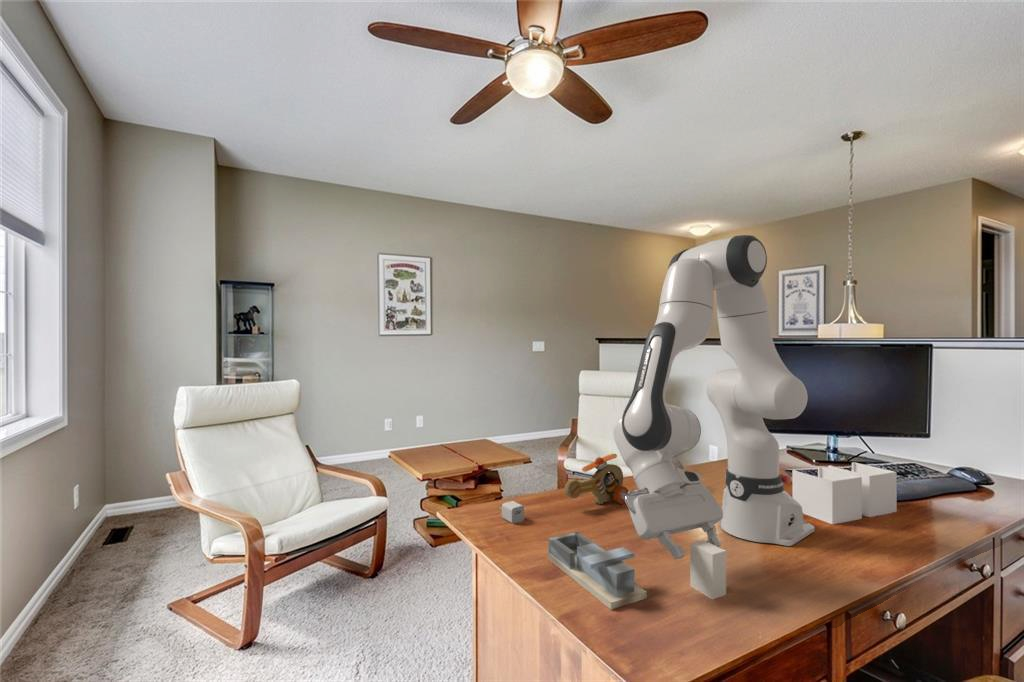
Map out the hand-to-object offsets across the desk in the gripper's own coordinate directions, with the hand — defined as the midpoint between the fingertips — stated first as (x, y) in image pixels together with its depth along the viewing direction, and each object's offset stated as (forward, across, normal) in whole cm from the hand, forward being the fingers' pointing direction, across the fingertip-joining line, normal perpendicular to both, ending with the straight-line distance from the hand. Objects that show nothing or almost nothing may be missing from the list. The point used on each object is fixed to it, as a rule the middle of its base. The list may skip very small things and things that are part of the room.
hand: (698, 552), depth 87 cm
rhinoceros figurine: (-28, +36, +37) cm, 59 cm away
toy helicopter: (-27, +10, +36) cm, 46 cm away
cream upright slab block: (+6, 0, +3) cm, 7 cm away
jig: (-4, -16, +13) cm, 21 cm away
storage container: (-3, +68, +12) cm, 69 cm away
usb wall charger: (-28, -17, +37) cm, 49 cm away
